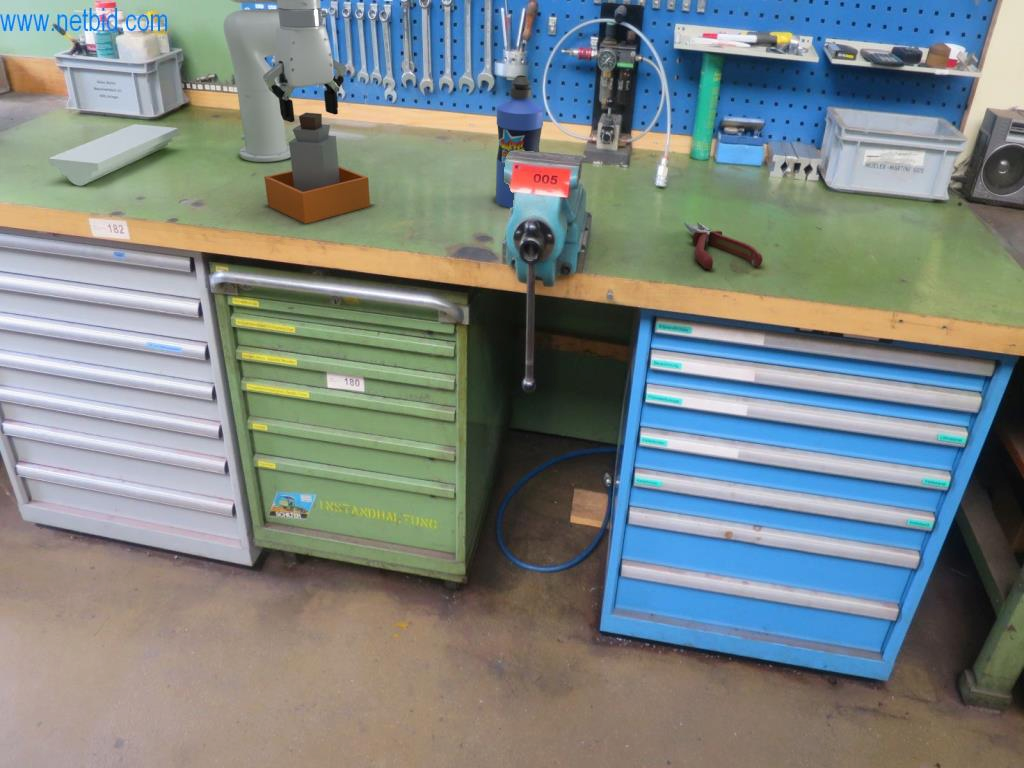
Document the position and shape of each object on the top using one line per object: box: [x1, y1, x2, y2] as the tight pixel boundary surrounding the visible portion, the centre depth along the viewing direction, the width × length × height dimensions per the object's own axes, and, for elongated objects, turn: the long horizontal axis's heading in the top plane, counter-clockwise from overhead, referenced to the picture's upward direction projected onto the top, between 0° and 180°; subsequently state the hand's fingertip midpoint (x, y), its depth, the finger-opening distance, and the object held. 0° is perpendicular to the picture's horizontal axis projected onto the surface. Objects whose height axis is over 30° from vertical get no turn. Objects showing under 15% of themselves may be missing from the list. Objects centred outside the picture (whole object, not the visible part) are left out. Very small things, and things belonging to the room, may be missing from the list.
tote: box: [263, 165, 371, 225], centre depth 159 cm, size 13×15×6 cm
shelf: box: [48, 123, 180, 187], centre depth 177 cm, size 12×30×5 cm, turn 169°
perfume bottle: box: [288, 112, 340, 192], centre depth 156 cm, size 7×7×18 cm
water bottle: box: [495, 74, 545, 209], centre depth 160 cm, size 9×9×25 cm
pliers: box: [683, 221, 764, 270], centre depth 147 cm, size 12×20×3 cm, turn 12°
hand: (310, 116), depth 151 cm, fingers open, 9 cm apart
